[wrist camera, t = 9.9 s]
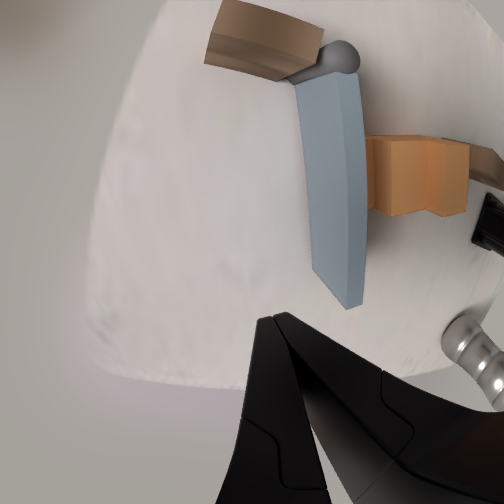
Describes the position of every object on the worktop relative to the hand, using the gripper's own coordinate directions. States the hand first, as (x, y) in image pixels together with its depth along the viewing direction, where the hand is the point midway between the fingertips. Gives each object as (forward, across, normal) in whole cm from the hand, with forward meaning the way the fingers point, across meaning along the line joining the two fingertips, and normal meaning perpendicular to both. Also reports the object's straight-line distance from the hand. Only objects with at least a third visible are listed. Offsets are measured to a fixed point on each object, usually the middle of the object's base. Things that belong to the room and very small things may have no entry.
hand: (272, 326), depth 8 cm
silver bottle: (+12, -29, +23) cm, 39 cm away
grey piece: (+12, -6, -2) cm, 13 cm away
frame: (+12, -12, -6) cm, 18 cm away
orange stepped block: (+12, -12, -1) cm, 17 cm away
